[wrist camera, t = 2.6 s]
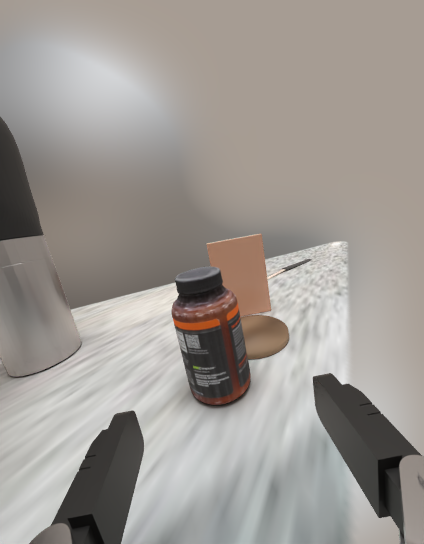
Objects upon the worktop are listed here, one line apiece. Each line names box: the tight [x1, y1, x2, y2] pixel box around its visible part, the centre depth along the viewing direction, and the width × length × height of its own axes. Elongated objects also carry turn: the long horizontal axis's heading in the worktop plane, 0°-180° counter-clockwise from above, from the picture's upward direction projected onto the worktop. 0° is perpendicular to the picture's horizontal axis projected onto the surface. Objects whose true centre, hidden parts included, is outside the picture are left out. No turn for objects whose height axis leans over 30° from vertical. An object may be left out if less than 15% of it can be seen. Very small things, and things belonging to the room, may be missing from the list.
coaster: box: [240, 315, 289, 359], centre depth 29 cm, size 9×9×1 cm
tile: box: [207, 234, 271, 316], centre depth 34 cm, size 1×8×12 cm, turn 93°
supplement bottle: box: [172, 267, 250, 405], centre depth 21 cm, size 6×6×11 cm
